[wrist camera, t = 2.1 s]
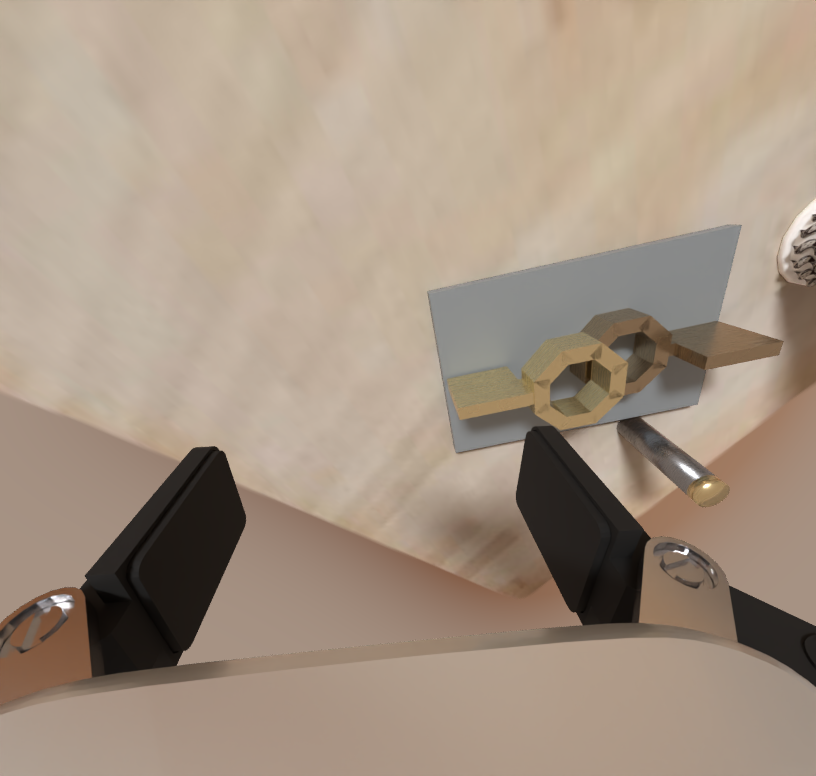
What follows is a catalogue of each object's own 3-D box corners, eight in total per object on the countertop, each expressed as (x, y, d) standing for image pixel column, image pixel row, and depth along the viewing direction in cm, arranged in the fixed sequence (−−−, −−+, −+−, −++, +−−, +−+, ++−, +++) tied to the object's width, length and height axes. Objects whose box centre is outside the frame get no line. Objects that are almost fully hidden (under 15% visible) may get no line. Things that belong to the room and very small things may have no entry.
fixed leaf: (724, 287, 30) (797, 301, 25) (706, 362, 33) (766, 388, 28) (571, 320, 31) (610, 341, 25) (569, 390, 34) (603, 421, 29)
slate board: (728, 224, 29) (741, 224, 28) (688, 399, 37) (697, 404, 36) (427, 291, 30) (428, 293, 29) (454, 446, 38) (455, 452, 37)
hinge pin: (642, 412, 37) (733, 480, 28) (639, 432, 39) (725, 503, 29) (618, 417, 37) (699, 486, 28) (615, 436, 39) (693, 509, 29)
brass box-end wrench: (590, 317, 30) (631, 336, 25) (586, 388, 34) (621, 418, 29) (441, 348, 31) (452, 374, 26) (452, 415, 34) (464, 449, 29)
